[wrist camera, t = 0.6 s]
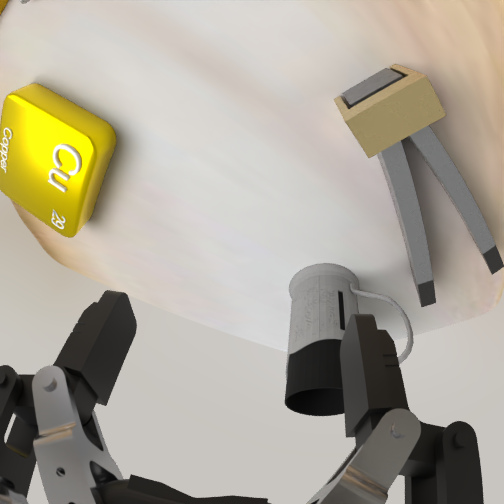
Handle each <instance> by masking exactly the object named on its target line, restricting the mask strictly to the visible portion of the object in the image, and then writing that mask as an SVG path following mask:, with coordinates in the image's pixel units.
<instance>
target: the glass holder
mask: <svg viewBox="0 0 504 504" xmlns="http://www.w3.org/2000/svg"><path fill="white" fill-rule="evenodd" d="M289 293H290V296H291V298H292V306H291V319H290V332H289V344H288V355H287V366H286V380H287V384H286V394H285V405H286V406H287V407H288V408H289V409H290V410H292V411H294V412H297V413H300V414H305V415H312V416H331V415H338V414H343V413H345V411H344V397H343V384H342V373H341V362H340V346H341V341H342V338H343V336H344V333H345V330H346V327H347V325H348V322H349V319H350V316H351V315H352V314H359V312H358V303H357V295H360V296H365V297H371V298H376V299H380V300H384V301H386V302H389V303H390V304H391V305H393V306H394V307H395V308H396V309H397V310H398V311H399V312H400V314H401V316H402V317H403V319H404V321H405V325H406V328H407V332H408V342H407V346H406V349H405V351H404V352H403V353H402V355H401V356H399V357H398V360H399V364H400V363H402V362H403V361H404V360H405V359H406V358H407V357H408V355H409V354H410V352H411V349H412V346H413V332H412V328H411V325H410V321H409V319H408V317H407V315H406V314H405V312H404V310H403V309H402V308H401V307H400V306H399V305H398V304H397V303H396V302H395V301H394V300H392V299H391V298H390V297H387V296H384V295H380V294H375V293H371V292H364V291H359V283H358V280H357V278H356V276H355V275H354V274H353V273H352V272H351V271H350V270H348V269H347V268H345V267H343V266H340V265H336V264H327V263H323V264H316V265H311V266H309V267H306V268H304V269H302V270H300V271H299V272H298V273H297V274H296V275H295V276H294V277H293V278H292V280H291V282H290V285H289Z"/></svg>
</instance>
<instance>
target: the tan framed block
mask: <svg viewBox="0 0 504 504" xmlns="http://www.w3.org/2000/svg"><path fill="white" fill-rule="evenodd" d="M390 69H391V70H392V71H393V72H396V73H398V74H400V75H402V76H403V77H404V78H403V79H401V80H399V81H397V82H396V83H394V84H392V85H390V86H388V87H387V88H385V89H383V90H381V91H379V92H378V93H376V94H374V95H372V96H371V97H369V98H367V99H366V100H364V101H362V102H360V103H359V104H357V105H355V106H354V107H352V108H350V109H348V107H347V106H346V104H345V103H344V102H343V100H342V99H341V97H340V96H339V97H337V98H335V99H334V101H335V103H336V105H337V107H338V109H339V111H340V113H341V115H342V117H343V119H344V121H345V122H346V124H347V125H348V127H349V128H350V130H351V131H352V133H353V134H354V136H355V137H356V139H357V140H358V142H359V143H360V145H361V147H362V148H363V150H364V151H365V153H366V155H367V156H368V158H370V157H372V156H374V155H376V154H378V153H379V152H381V151H383V150H385V149H386V148H388V147H390V146H392V145H394V144H395V143H397V142H399V141H401V140H403V139H404V138H406V137H408V136H410V135H412V134H413V133H415V132H417V131H419V130H421V129H422V128H424V127H426V126H428V125H430V124H432V123H433V122H435V121H437V120H439V119H441V118H443V117H444V116H446V114H445V112H444V109H443V107H442V105H441V103H440V101H439V99H438V97H437V95H436V93H435V91H434V89H433V87H432V85H431V83H430V81H429V79H428V78H427V76H426V75H423V74H421V73H418V72H416V71H413V70H410V69H408V68H405V67H402V66H399V65H396V64H394V65H392V66H391V67H390Z"/></svg>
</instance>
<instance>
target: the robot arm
mask: <svg viewBox="0 0 504 504" xmlns="http://www.w3.org/2000/svg"><path fill="white" fill-rule="evenodd" d="M136 328H137V324H136V319H135V316H134V313H133V310H132V307H131V304H130V301H129V298H128V295H127V294H126V293H123V292H116V291H110V290H109V291H108V290H107V291H105V292H104V294H103V295H102V297H101V298H100V300H99V302H98V303H96V302H94V303H93V304H91V305H90V306H89V307H88V308H87V309H86V310H84V312H83V313H82V315H81V317H80V318H79V320H78V324H76V325H75V327H74V329H73V332H72V333H71V334H70V336H69V337H68V339H67V341H66V343H65V345H64V346H63V348H62V350H61V352H60V354H59V356H58V358H57V360H56V361H55V363H54V364H53V366H46V367H44V368H42V369H40V370H39V371H38V372H37V373H36V374H35V375H18V374H17V373H16V372H15V370H14V369H13V368H12V367H10V366H8V365H3V366H0V504H28V502H27V500H26V498H27V494H28V489H29V486H30V482H31V478H32V475H33V471H34V468H35V464H36V461H37V464H38V468H39V472H40V475H41V479H42V483H43V486H44V490H45V493H46V496H47V499H48V502H49V504H271V503H267V501H268V499H266V498H252V497H241V496H222V497H209V498H194V497H191V496H188V495H187V494H184V493H182V492H180V491H178V490H176V489H173V488H171V487H169V486H167V485H165V484H163V483H161V482H157V481H153V480H149V479H145V478H142V477H138V476H135V475H131V476H130V479H123V477H122V474H121V472H120V471H119V468H118V466H117V465H116V463H115V462H114V460H113V459H112V457H111V456H110V454H109V452H108V449H107V446H106V444H105V441H104V438H103V435H102V432H101V429H100V426H99V424H98V420H97V417H96V414H95V411H94V410H93V409H94V407H95V404H96V403H98V404H102V405H105V406H106V405H107V403H108V400H109V397H110V395H111V392H112V389H113V387H114V385H115V382H116V380H117V377H118V374H119V372H120V370H121V367H122V365H123V362H124V360H125V357H126V355H127V353H128V350H129V348H130V346H131V344H132V341H133V339H134V337H135V334H136ZM340 362H341V373H342V384H343V397H344V411H345V428H346V437H355V438H356V446H355V448H354V449H353V450H352V451H351V453H350V454H349V455H348V457H347V458H346V459H345V461H344V462H343V463H342V464H341V466H340V467H339V468H338V469H337V471H336V472H335V473H334V474H333V476H332V477H331V478H330V479H329V480H328V482H327V483H326V484H325V485H324V486H323V487H322V488H321V489H320V490H319V491H318V492H317V493H316V494H315V495H314V496H313V497H312V498H311V499H310V500H309V501H308V502H307V504H385V502H386V500H387V498H388V494H387V492H388V490H389V488H390V486H391V485H392V483H393V482H394V480H395V479H396V477H397V475H403V476H405V504H484V503H483V486H482V475H481V466H480V458H479V451H478V444H477V437H476V433H475V431H474V429H473V428H472V427H471V426H470V425H469V424H467V423H466V422H462V421H457V422H454V423H452V424H450V425H449V426H448V427H446V428H445V427H440V426H435V425H430V424H426V423H423V422H421V421H419V420H418V418H417V417H416V416H415V415H414V414H413V413H412V412H411V411H410V409H409V407H408V403H407V398H406V393H405V388H404V383H403V379H402V374H401V370H400V367H399V360H398V357H397V352H396V348H395V344H394V341H393V339H392V338H391V337H390V335H389V334H388V332H387V331H386V330H377V326H376V321H375V317H374V316H373V315H372V314H352V315H351V316H350V319H349V322H348V325H347V327H346V330H345V333H344V336H343V338H342V341H341V346H340ZM13 413H14V414H15V415H16V418H15V420H14V423H13V426H12V428H11V431H10V434H9V437H8V439H7V442H6V443H5V442H4V436H5V433H6V430H7V427H8V424H9V422H10V419H11V417H12V414H13Z"/></svg>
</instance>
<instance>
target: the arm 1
mask: <svg viewBox="0 0 504 504" xmlns="http://www.w3.org/2000/svg"><path fill="white" fill-rule="evenodd" d="M378 157H379V160H380V163H381V165H382V168H383V171H384V174H385V177H386V180H387V183H388V186H389V189H390V192H391V195H392V199H393V202H394V205H395V208H396V212H397V215H398V219H399V222H400V226H401V229H402V233H403V237H404V241H405V245H406V249H407V253H408V257H409V261H410V266H411V270H412V275H413V279H414V283H415V286H416V289H417V293H418V296H419V300H420V303H421V307H424V306H428V305H431V304H434V303H436V298H435V290H434V282H433V275H432V268H431V262H430V256H429V250H428V245H427V239H426V234H425V229H424V224H423V220H422V215H421V211H420V207H419V202H418V198H417V194H416V191H415V187H414V183H413V179H412V176H411V172H410V169H409V165H408V162H407V159H406V155H405V152H404V149H403V146H402V143H401V141H399V142H397V143H395V144H394V145H392V146H390V147H388V148H386V149H385V150H383V151H381V152H379V153H378Z"/></svg>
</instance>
